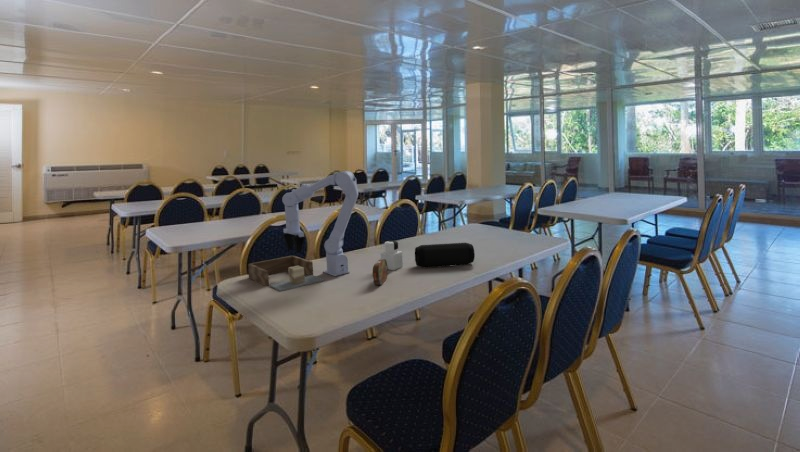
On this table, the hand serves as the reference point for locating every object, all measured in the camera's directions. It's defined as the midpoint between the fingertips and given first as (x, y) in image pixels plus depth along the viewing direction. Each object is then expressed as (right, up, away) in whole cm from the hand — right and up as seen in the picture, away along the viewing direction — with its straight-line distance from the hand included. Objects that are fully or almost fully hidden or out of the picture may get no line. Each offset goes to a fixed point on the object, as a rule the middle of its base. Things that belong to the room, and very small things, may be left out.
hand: (294, 251), depth 189 cm
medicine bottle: (+42, -8, +5) cm, 43 cm away
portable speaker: (+66, -7, +7) cm, 67 cm away
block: (+5, -12, -16) cm, 20 cm away
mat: (+5, -12, -15) cm, 20 cm away
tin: (+38, -12, -16) cm, 43 cm away
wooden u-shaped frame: (-4, -11, -5) cm, 13 cm away
